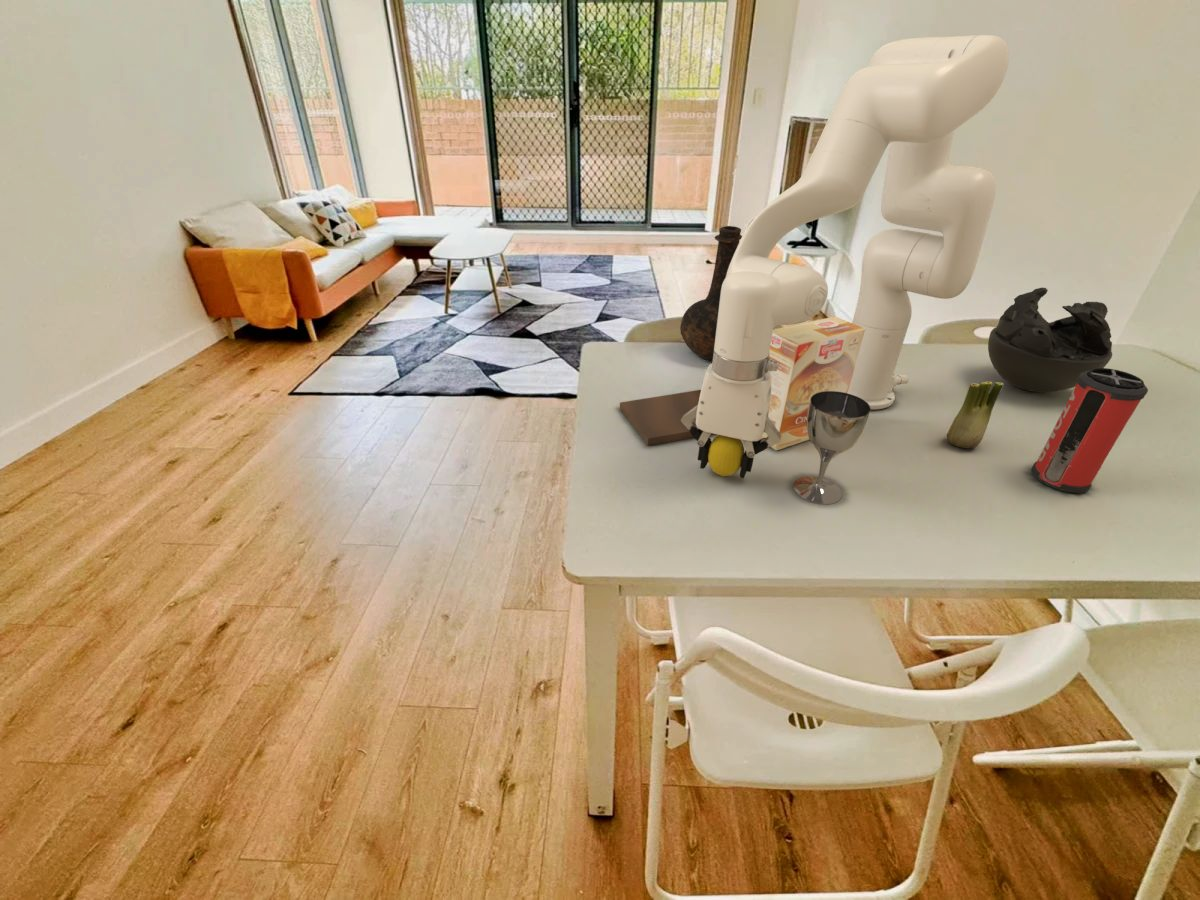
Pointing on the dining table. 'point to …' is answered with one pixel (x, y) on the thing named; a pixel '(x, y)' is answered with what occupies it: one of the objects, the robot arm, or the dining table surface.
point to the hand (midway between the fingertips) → (723, 467)
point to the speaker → (1088, 428)
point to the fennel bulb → (974, 415)
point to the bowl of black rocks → (1049, 344)
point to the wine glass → (831, 439)
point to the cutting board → (661, 416)
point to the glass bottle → (710, 299)
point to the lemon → (725, 455)
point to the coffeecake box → (809, 371)
